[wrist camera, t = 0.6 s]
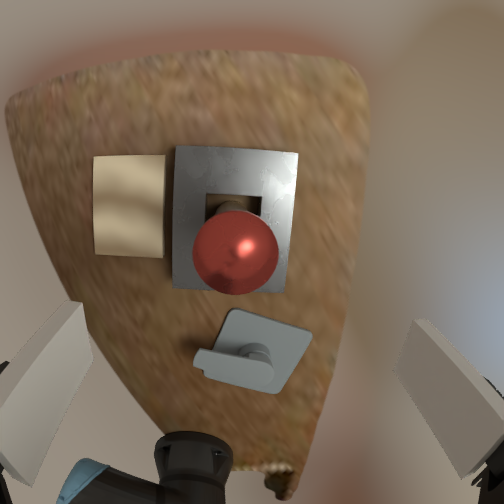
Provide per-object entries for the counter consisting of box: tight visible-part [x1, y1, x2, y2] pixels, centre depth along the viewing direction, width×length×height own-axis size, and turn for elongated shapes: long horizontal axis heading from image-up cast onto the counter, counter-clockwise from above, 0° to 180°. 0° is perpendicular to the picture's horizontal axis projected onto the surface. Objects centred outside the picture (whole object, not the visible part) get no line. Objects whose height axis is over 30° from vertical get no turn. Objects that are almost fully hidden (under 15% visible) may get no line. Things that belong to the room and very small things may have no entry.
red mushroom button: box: [192, 201, 279, 295], centre depth 28 cm, size 6×6×15 cm
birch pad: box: [93, 155, 167, 258], centre depth 33 cm, size 12×9×1 cm
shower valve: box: [193, 308, 312, 394], centre depth 38 cm, size 12×6×15 cm
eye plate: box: [172, 146, 298, 293], centre depth 34 cm, size 16×13×3 cm
